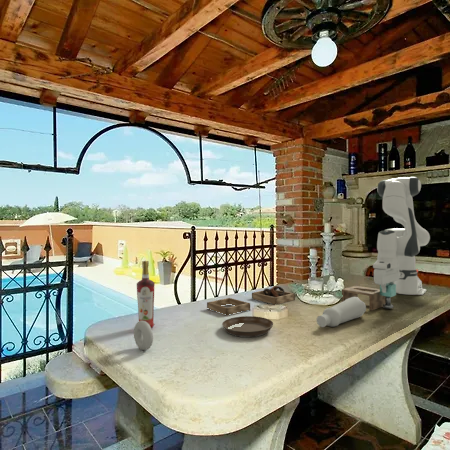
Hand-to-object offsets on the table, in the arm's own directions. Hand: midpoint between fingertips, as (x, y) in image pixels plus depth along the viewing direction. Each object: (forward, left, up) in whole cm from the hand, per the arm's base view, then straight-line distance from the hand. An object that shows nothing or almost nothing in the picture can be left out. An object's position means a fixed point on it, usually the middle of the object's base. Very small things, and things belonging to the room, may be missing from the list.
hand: (387, 291), depth 159 cm
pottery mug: (+25, -53, -9) cm, 59 cm away
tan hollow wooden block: (+1, -12, -9) cm, 15 cm away
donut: (+114, -32, -9) cm, 119 cm away
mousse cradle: (+59, -52, -9) cm, 79 cm away
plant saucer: (+73, -23, -9) cm, 77 cm away
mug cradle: (+26, -52, -9) cm, 59 cm away
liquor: (+103, -53, -9) cm, 116 cm away
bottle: (+36, -4, -9) cm, 38 cm away
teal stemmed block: (0, 0, -8) cm, 8 cm away
